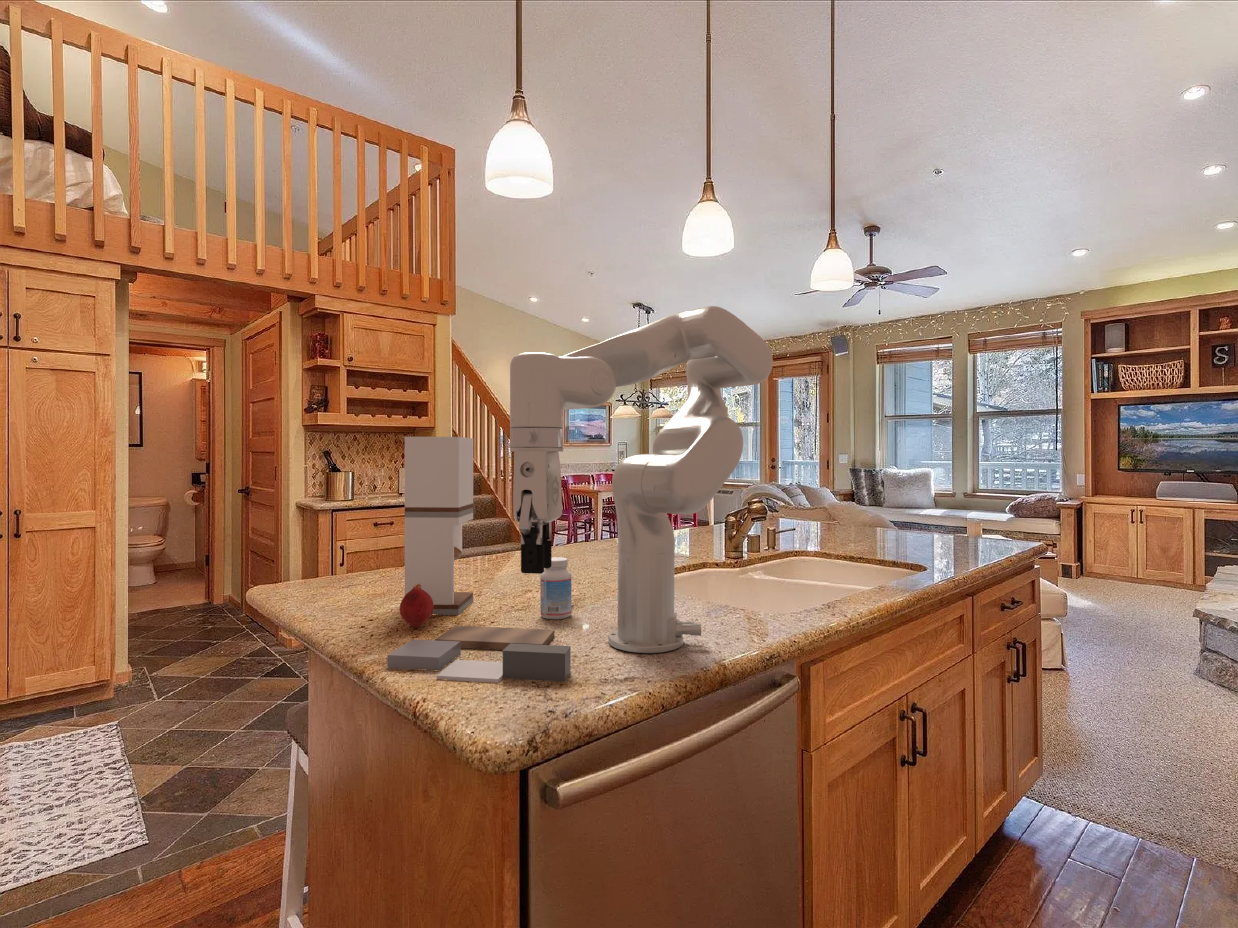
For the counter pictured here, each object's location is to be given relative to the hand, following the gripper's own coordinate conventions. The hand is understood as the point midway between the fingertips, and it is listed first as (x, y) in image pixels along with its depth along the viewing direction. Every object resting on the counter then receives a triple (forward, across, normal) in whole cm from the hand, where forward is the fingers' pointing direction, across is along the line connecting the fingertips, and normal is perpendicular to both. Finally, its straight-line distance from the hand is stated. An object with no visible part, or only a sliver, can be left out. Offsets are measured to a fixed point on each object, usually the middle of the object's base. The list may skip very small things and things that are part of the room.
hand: (536, 569), depth 90 cm
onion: (+15, +21, +28) cm, 38 cm away
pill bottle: (+15, +33, +5) cm, 37 cm away
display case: (+15, +36, +30) cm, 49 cm away
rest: (+15, +15, +11) cm, 24 cm away
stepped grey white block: (+15, 0, +4) cm, 16 cm away
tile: (+14, +8, +18) cm, 25 cm away
